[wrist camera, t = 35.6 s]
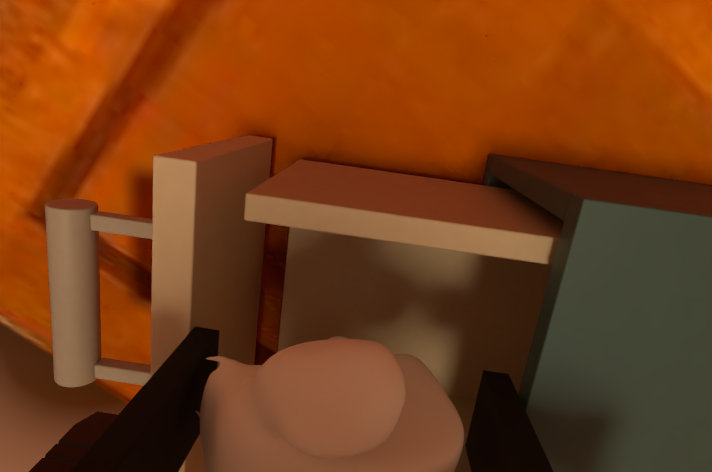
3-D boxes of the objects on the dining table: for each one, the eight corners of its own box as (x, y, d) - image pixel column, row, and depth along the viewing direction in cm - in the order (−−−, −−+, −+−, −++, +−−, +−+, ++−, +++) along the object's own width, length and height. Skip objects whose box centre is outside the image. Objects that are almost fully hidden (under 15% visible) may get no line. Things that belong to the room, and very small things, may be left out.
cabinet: (435, 405, 25) (470, 612, 15) (488, 153, 21) (583, 198, 11) (745, 453, 25) (997, 697, 15) (855, 205, 21) (1300, 300, 11)
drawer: (131, 359, 24) (-4, 495, 16) (131, 118, 21) (-42, 127, 12) (526, 420, 24) (603, 592, 15) (592, 183, 20) (737, 239, 12)
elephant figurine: (242, 247, 13) (133, 351, 8) (509, 316, 13) (598, 470, 8) (207, 436, 15) (99, 633, 10) (441, 496, 15) (473, 728, 10)
